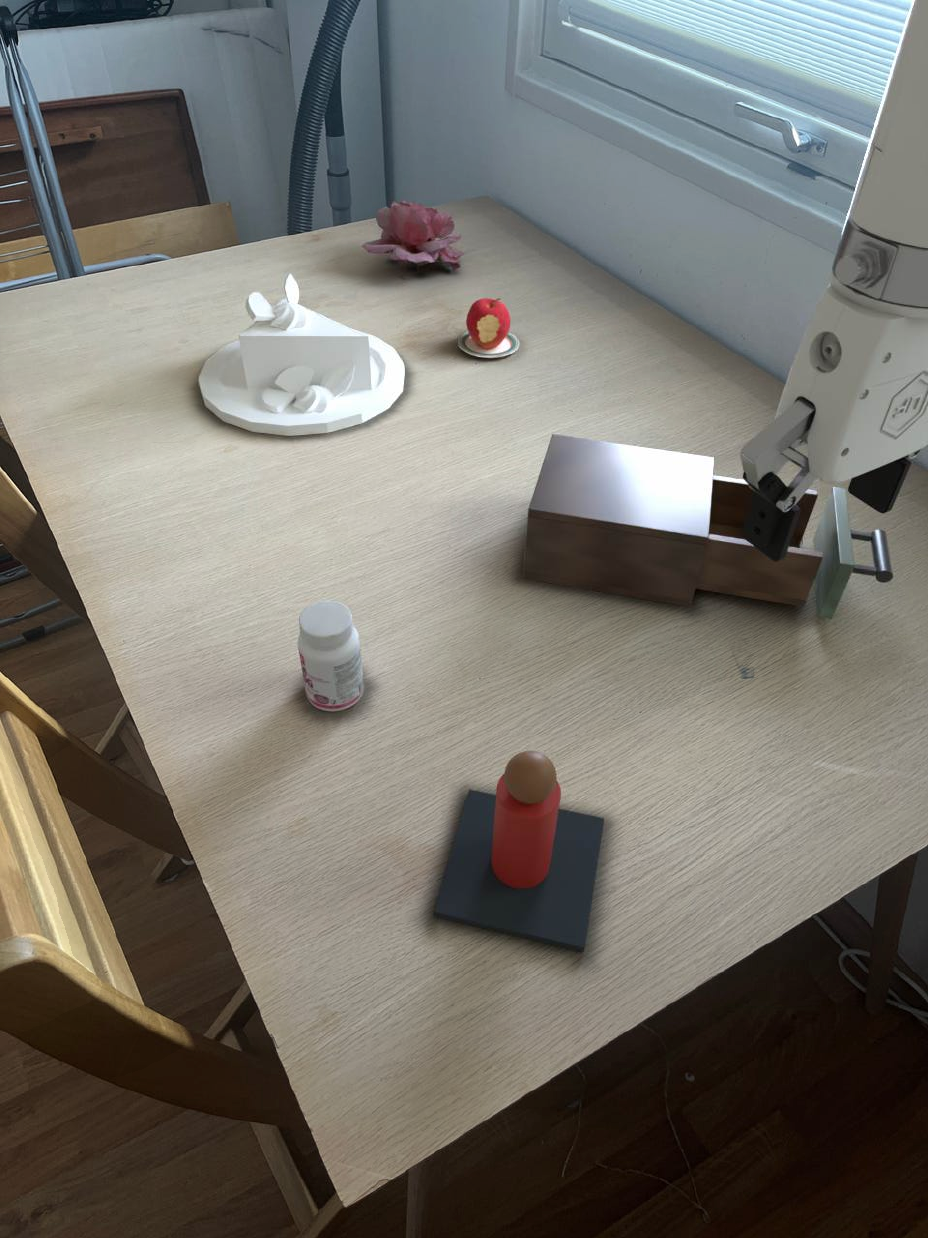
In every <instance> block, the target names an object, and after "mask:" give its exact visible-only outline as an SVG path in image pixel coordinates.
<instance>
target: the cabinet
mask: <svg viewBox="0 0 928 1238" xmlns="http://www.w3.org/2000/svg"><path fill="white" fill-rule="evenodd" d="M714 472H715V457H713V456H708V455H707V456H705V455H700V454H692V453H685V452H679V451H673V450H664V449H658V448H651V447H650V448H649V447H645V446H637V445H630V444H623V443H616V442H610V441H602V440H598V439H597V440H596V439H589V438H583V437H574V436H569V435H562V434H555V433H553V434H551V437H550V440H549V443H548V446H547V450H546V452H545V455H544V459H543V462H542V465H541V469H540V471H539V474H538V477H537V481H536V483H535V487H534V490H533V493H532V496H531V499H530V503H529V506H528V509H527V518H526V519H527V520H526V531H525V544H524V557H523V567H522V579H525V580H530V581H531V580H532V581H537V582H540V583H541V582H542V583H547V584H553V585H559V586H565V587H571V588H577V589H582V590H587V591H594V592H599V593H600V592H601V593H605V594H612V595H617V596H622V597H630V598H635V599H640V600H647V601H652V602H657V603H664V604H669V605H675V606H681V607H686V608H691V607H692V604H693V603H692V602H693V599H694V596H695V591H696V589H695V588H696V585H697V581H698V577H699V573H700V570H701V566H702V562H703V558H704V555H705V551H706V547H707V543H708V540H709V530H710V516H711V502H712V487H713V475H714Z"/></svg>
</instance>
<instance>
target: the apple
mask: <svg viewBox="0 0 928 1238" xmlns="http://www.w3.org/2000/svg"><path fill="white" fill-rule="evenodd" d="M501 300H502V298H500V297H498V298H496V299H494V298H487V297H486V298H480V299H478V300H476V301H474V302H473V303H472V304H471V306H470V307H469V310H468V312H467V314H466V321H465V323H466V324H465V325H466V329H467V331H466V332H465V333H463V334H462V335H461V336H460V337H459V338H458V340H457V341H458V343H457V344H458V347H459V348H460V350H462V351H463V352H465V354H468V355H470V356H474V357H478V358H483V359H485V358H486V359H495V358H496V359H497V358H502V357H507V356H509V355H512V354H513V353H515V352H516V351H517V350H518V349H519V347H520V340H519V338H518V337H517V336H516V335H514V334H513V333H511V332H510V329H511V322H512V321H511V315H510V311H509V310H508V307H507V306H506V305H505V304H504V303H503V302H501Z"/></svg>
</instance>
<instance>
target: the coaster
mask: <svg viewBox="0 0 928 1238" xmlns="http://www.w3.org/2000/svg"><path fill="white" fill-rule="evenodd" d="M495 804H496V794H492V793H488V792H484V791H478V790H474V789H468V792H467V796H466V798H465V802H464V806H463V808H462V812H461V815H460V820H459V823H458V827H457V830H456V833H455V836H454V840H453V843H452V847H451V851H450V854H449V857H448V860H447V865H446V868H445V871H444V875H443V878H442V882H441V885H440V889H439V892H438V896H437V898H436V902H435V906H434V909H433V917H435V918H441V919H445V920H449V921H454V922H457V923H460V924H465V925H469V926H473V927H477V928H481V929H485V930H491V931H494V932H498V933H502V934H506V935H511V936H515V937H519V938H524V939H528V940H532V941H536V942H540V943H545V944H549V945H553V946H556V947H561V948H565V949H568V950H574V951H577V952H583V953H584V952H585V948H586V942H587V935H588V928H589V921H590V915H591V910H592V909H591V908H592V903H593V897H594V889H595V884H596V883H595V882H596V876H597V870H598V863H599V857H600V851H601V849H600V848H601V844H602V843H601V842H602V835H603V829H604V823H605V818H604V817H599V816H596V815H591V814H585V813H581V812H576V811H572V810H567V809H563V808H559V811H558V817H557V823H556V829H555V836H554V842H553V848H552V854H551V861H550V867H549V871H548V874H547V876H546V877H545V879H544V880H543V881H542V882H540V883H539V884H538V885H536V886H534V887H531V888H526V889H518V888H513V887H510V886H508V885H506V884H504V883H503V882H502V881H501V880H500V879H499V878H498V877H497V876H496V875H495V873H494V871H493V868H492V863H491V860H492V845H493V831H494V817H495Z"/></svg>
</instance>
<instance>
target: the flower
mask: <svg viewBox="0 0 928 1238" xmlns="http://www.w3.org/2000/svg"><path fill="white" fill-rule="evenodd" d="M437 209H438V208H433V207H425V206H424V205H422V204H420V203H416V202H414V201H406V200H404V199H402V201H400V202H399V203H397V202H395V200H393V201H392V203H391V206H390V208H389V207H388V206H383V207H382V208H379V209H378V210H377V211H376V213H375V220H376V223H377V226H378V227H379V228H381V230H382V231H381V233H380V238H378V239H374V240H371V241H366V242H364V243H363V244H361V248H363V249H364V251H366V252H368V253H370V254H376V255H377V254H389V253H391V255H390V260H392V261H393V262H394V261H395V262H401V263H403V265H404V267H405V266H406V264H411V265H412V266H414V264H415V265H416V269H417V271H418V273H419V274H421V272H420V266H423V265H427V264H431V263H435V262H436V263H440V264H450V267H451V269H452V271H455V270H457V269H459V268H461V264H460V261H458V259H459V258H461V257H463V256H464V255H465V252H464V251H462V250H459V249H458V248H456V247H454V246H451V245H453V244H455V243H458V241H460V240H461V239H462V234H460V235H451V234H452V233H453V231H454V230H455V223H454V221H453V220H452V219H453V214H452V213H447V212H445V211H438V210H437ZM436 239H437V240H436Z"/></svg>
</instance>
